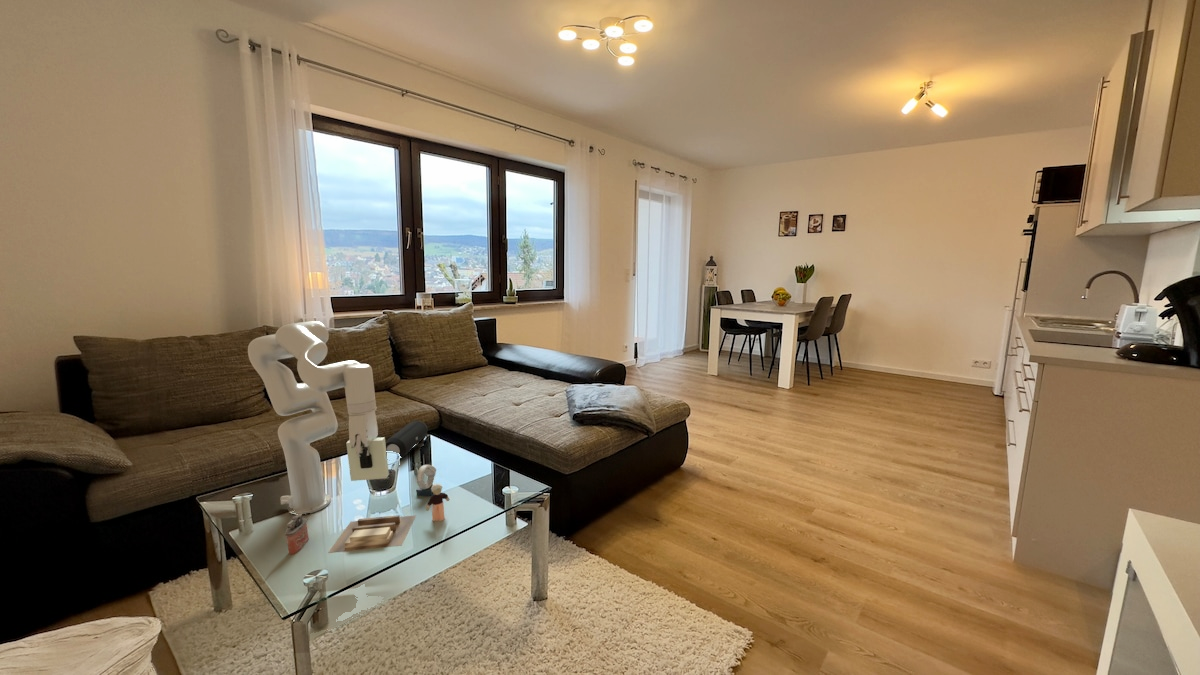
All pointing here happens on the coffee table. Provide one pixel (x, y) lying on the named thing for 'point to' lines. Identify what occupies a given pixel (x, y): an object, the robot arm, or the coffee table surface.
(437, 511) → the grandmother figurine
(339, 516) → the coffee table surface
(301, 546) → the lighter
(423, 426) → the portable speaker
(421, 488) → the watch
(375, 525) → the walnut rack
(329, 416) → the robot arm
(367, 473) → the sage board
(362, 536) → the upper birch offcut
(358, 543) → the lower birch offcut
